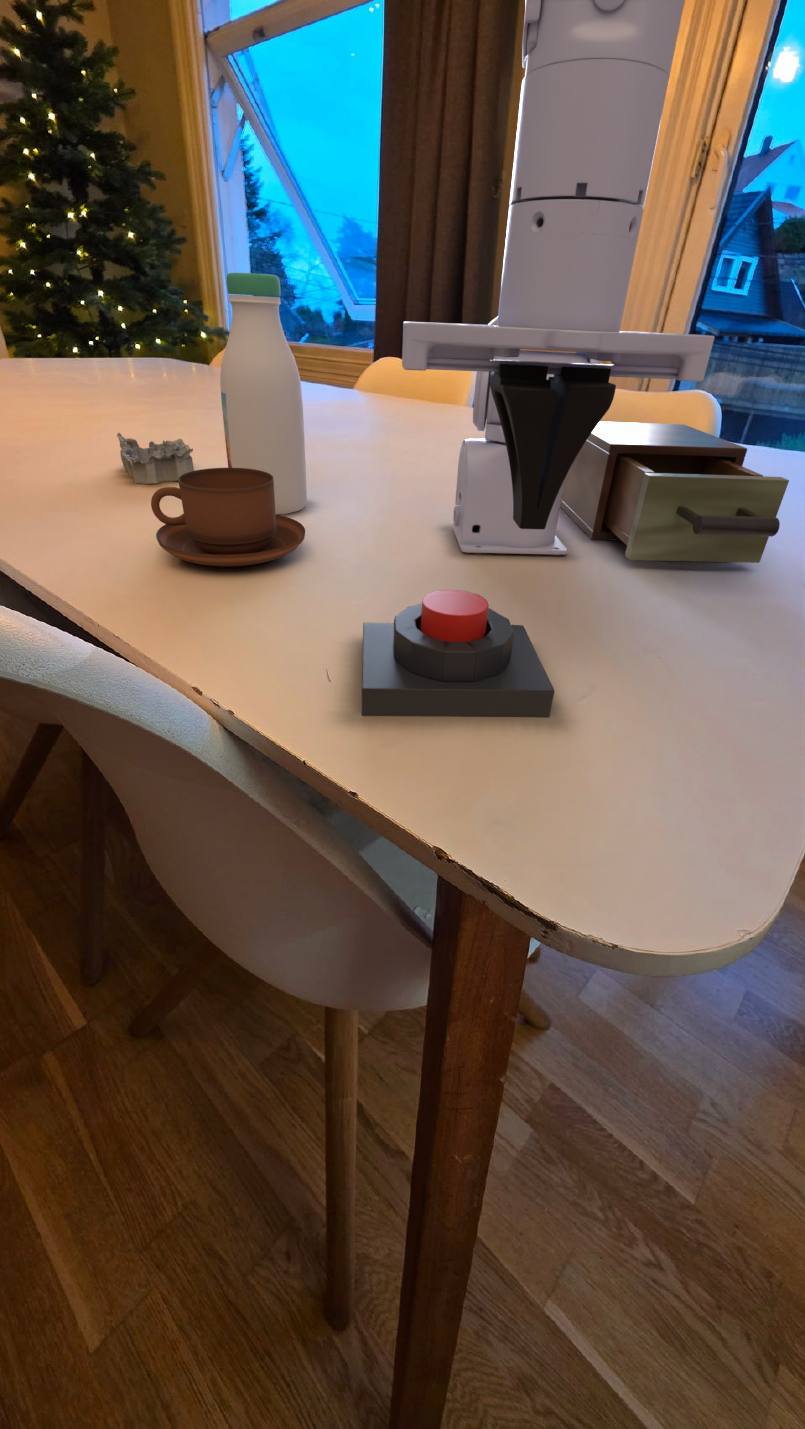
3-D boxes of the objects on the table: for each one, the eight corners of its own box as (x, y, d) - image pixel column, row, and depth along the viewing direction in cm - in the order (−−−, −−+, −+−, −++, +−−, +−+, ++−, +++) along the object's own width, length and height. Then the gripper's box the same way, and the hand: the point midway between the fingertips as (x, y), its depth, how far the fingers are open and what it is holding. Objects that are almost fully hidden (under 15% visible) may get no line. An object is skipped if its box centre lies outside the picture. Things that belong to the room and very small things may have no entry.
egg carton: (121, 467, 78) (113, 432, 76) (183, 464, 81) (177, 429, 79) (132, 486, 70) (124, 447, 68) (200, 482, 73) (195, 444, 71)
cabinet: (718, 542, 61) (748, 448, 56) (591, 539, 60) (610, 443, 55) (663, 505, 72) (684, 424, 67) (555, 502, 71) (569, 420, 67)
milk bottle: (322, 505, 67) (315, 277, 56) (272, 521, 61) (254, 271, 50) (268, 493, 70) (251, 275, 59) (216, 507, 64) (187, 270, 54)
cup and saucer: (168, 587, 46) (153, 502, 43) (153, 538, 55) (140, 465, 52) (324, 569, 51) (321, 491, 47) (286, 527, 60) (281, 459, 56)
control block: (361, 716, 33) (361, 657, 31) (363, 646, 39) (363, 594, 37) (549, 718, 33) (561, 660, 31) (519, 649, 40) (527, 597, 38)
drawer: (792, 584, 49) (827, 496, 46) (651, 581, 49) (675, 491, 45) (695, 521, 64) (716, 449, 60) (586, 518, 63) (600, 446, 59)
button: (422, 645, 33) (424, 614, 32) (418, 617, 36) (420, 588, 35) (490, 646, 33) (494, 616, 32) (480, 618, 36) (483, 589, 35)
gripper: (414, 184, 23) (401, 543, 31) (787, 206, 24) (687, 550, 32) (404, 209, 29) (395, 505, 37) (704, 226, 30) (636, 512, 37)
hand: (528, 524), depth 34 cm, fingers closed
